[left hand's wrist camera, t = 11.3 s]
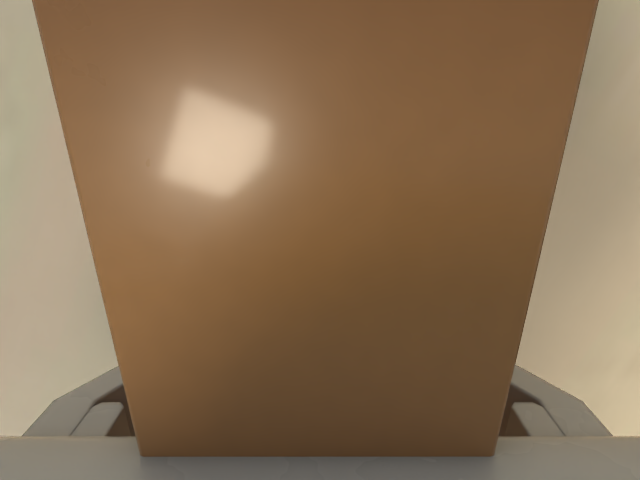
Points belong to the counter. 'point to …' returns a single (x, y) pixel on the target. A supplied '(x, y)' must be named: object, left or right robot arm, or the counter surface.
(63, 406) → the left robot arm
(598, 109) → the counter surface
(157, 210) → the bar
